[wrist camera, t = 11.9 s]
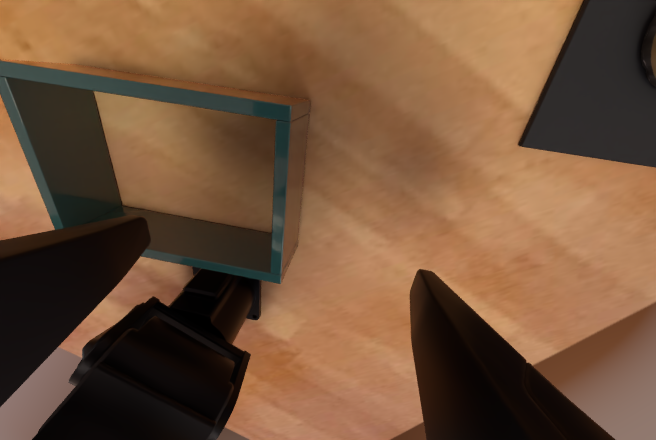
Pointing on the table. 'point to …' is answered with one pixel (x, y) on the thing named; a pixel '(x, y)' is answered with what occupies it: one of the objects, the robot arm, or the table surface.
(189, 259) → the teal open box
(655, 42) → the pill bottle
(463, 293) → the table surface
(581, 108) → the mat
